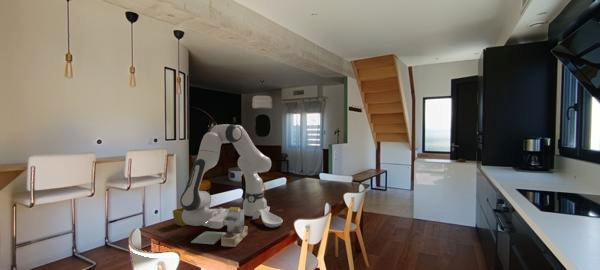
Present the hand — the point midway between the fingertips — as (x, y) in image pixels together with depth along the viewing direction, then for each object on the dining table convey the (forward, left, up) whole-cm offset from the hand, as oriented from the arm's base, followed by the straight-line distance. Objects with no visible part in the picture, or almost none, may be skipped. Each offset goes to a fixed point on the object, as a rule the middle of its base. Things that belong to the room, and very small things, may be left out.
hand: (237, 219), depth 141 cm
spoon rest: (-25, +8, -11) cm, 28 cm away
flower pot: (-14, -40, -10) cm, 44 cm away
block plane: (+1, -1, -10) cm, 10 cm away
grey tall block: (0, -1, -6) cm, 6 cm away
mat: (+2, -15, -10) cm, 18 cm away
